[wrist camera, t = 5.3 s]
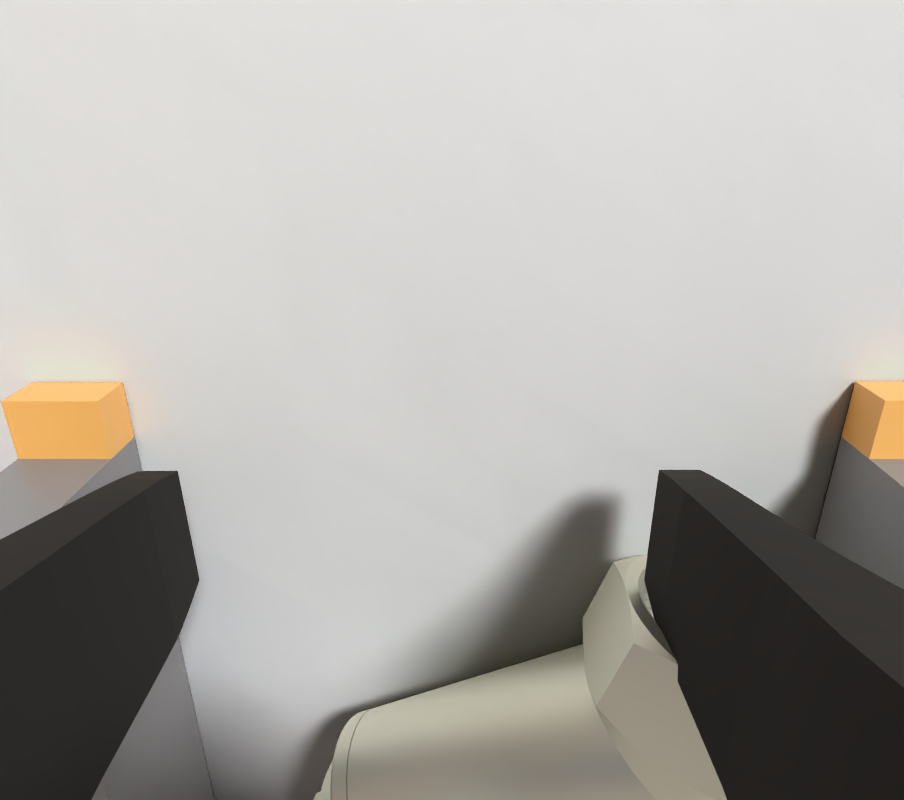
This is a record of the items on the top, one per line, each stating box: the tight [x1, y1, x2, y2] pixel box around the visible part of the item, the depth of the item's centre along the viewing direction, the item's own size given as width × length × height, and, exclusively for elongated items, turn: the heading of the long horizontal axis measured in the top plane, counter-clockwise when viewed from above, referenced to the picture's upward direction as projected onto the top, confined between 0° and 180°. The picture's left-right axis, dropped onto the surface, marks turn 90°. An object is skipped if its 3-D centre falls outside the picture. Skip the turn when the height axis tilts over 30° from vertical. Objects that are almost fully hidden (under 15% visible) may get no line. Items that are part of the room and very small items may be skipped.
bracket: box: [0, 381, 904, 800], centre depth 12 cm, size 15×13×3 cm
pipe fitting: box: [313, 555, 727, 800], centre depth 12 cm, size 8×4×7 cm
